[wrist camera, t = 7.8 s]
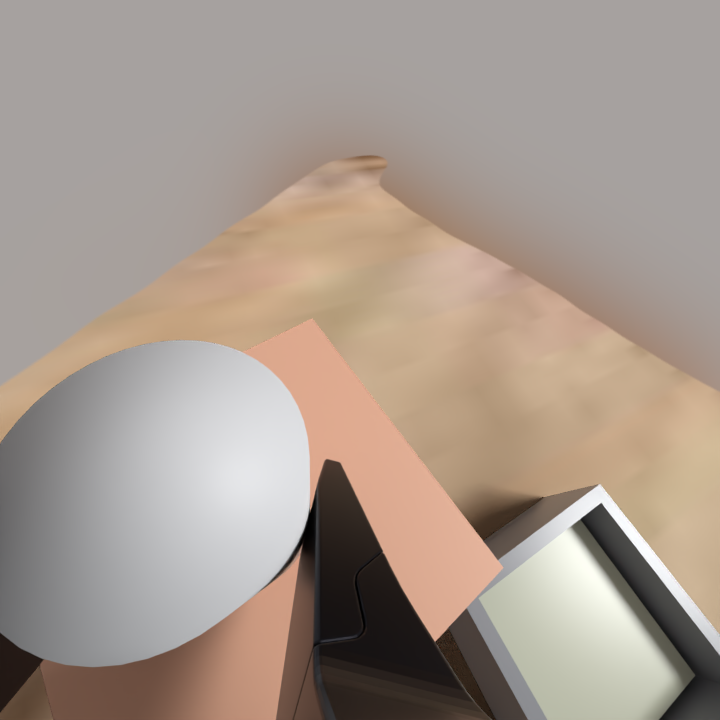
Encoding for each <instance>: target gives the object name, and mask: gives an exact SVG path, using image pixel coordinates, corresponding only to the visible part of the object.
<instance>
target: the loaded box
mask: <svg viewBox="0 0 720 720" xmlns="http://www.w3.org/2000/svg"><path fill="white" fill-rule="evenodd" d="M483 542H484V543H485V544H486V546H487V547H488V548H489V549H490V551H491V552H492V553H493V555H494V556H495V557H496V559H497V560H498V561H499V562H500V564H501V565H502V566H503V569H502V570H501V571H500V572H499V573H498V574H497V575H496V577H495V578H494V579H493V580H492V581H491V582H490V583H489V584H488V585H487V586H486V587H485V588H484V590H483V591H482V592H481V593H480V594H479V595H478V596H477V597H476V598H475V599H474V600H473V601H472V603H471V604H470V605H469V606H468V607H467V608H466V609H465V610H464V611H463V612H462V613H461V614H460V615H459V617H458V618H457V619H456V620H455V621H454V622H453V623H452V624H451V625H450V626H449V627H448V628H449V630H450V632H451V634H452V636H453V638H454V640H455V642H456V644H457V645H458V647H459V649H460V651H461V653H462V655H463V657H464V659H465V661H466V663H467V665H468V667H469V669H470V671H471V673H472V674H473V676H474V678H475V680H476V682H477V684H478V686H479V688H480V690H481V692H482V694H483V696H484V698H485V700H486V701H487V703H488V705H489V707H490V709H491V711H492V713H493V715H494V717H495V719H496V720H720V635H719V634H718V632H717V631H716V630H715V628H714V627H713V626H712V625H711V623H710V622H709V621H708V620H707V618H706V617H705V616H704V615H703V613H702V612H701V611H700V610H699V608H698V607H697V606H696V605H695V603H694V602H693V601H692V599H691V598H690V597H689V596H688V594H687V593H686V592H685V591H684V589H683V588H682V587H681V586H680V584H679V583H678V582H677V581H676V579H675V578H674V577H673V576H672V574H671V573H670V572H669V571H668V569H667V568H666V567H665V565H664V564H663V563H662V562H661V560H660V559H659V558H658V557H657V555H656V554H655V553H654V552H653V550H652V549H651V548H650V547H649V545H648V544H647V543H646V542H645V540H644V539H643V538H642V536H641V535H640V534H639V533H638V531H637V530H636V529H635V528H634V526H633V525H632V524H631V523H630V521H629V520H628V519H627V518H626V516H625V515H624V514H623V513H622V511H621V510H620V509H619V507H618V506H617V505H616V504H615V502H614V501H613V500H612V499H611V497H610V496H609V495H608V494H607V492H606V491H605V490H604V489H603V487H602V486H601V485H600V484H598V485H594V486H589V487H585V488H581V489H577V490H573V491H568V492H564V493H560V494H556V495H551V496H547V497H544V498H543V499H542V500H540V501H539V502H537V503H536V504H535V505H533V506H532V507H530V508H529V509H527V510H526V511H525V512H523V513H522V514H520V515H519V516H518V517H516V518H515V519H513V520H512V521H510V522H509V523H508V524H506V525H505V526H503V527H502V528H501V529H499V530H498V531H496V532H495V533H494V534H492V535H491V536H489V537H488V538H486V539H485V540H484V541H483Z"/></svg>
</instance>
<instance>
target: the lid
mask: <svg viewBox="0 0 720 720" xmlns="http://www.w3.org/2000/svg"><path fill="white" fill-rule="evenodd" d="M326 459H330V460H334V461H338V462H340V463H341V464H342V467H343V469H344V471H345V473H346V475H347V477H348V479H349V481H350V483H351V485H352V487H353V489H354V491H355V494H356V496H357V498H358V500H359V502H360V504H361V506H362V508H363V510H364V512H365V514H366V516H367V518H368V521H369V523H370V525H371V527H372V529H373V531H374V533H375V535H376V537H377V539H378V541H379V543H380V545H381V548H382V550H383V553H384V554H385V556H386V558H387V560H388V562H389V564H390V566H391V568H392V570H393V572H394V574H395V576H396V578H397V579H398V581H399V583H400V585H401V587H402V589H403V591H404V592H405V594H406V596H407V597H408V599H409V601H410V602H411V604H412V606H413V607H414V609H415V611H416V612H417V614H418V616H419V617H420V619H421V620H422V622H423V624H424V625H425V627H426V628H427V630H428V631H429V633H430V635H431V636H432V638H433V639H434V641H436V640H437V639H438V638H439V637H440V636H441V635H442V634H443V633H444V632H445V631H446V630H447V628H448V627H449V626H450V625H451V624H452V623H453V622H454V621H455V620H456V619H457V618H458V617H459V615H460V614H461V613H462V612H463V611H464V610H465V609H466V608H467V607H468V606H469V605H470V604H471V603H472V601H473V600H474V599H475V598H476V597H477V596H478V595H479V594H480V593H481V592H482V591H483V590H484V588H485V587H486V586H487V585H488V584H489V583H490V582H491V581H492V580H493V579H494V578H495V577H496V575H497V574H498V573H499V572H500V571H501V570H502V569H503V566H502V565H501V564H500V562H499V561H498V560H497V559H496V557H495V556H494V555H493V553H492V552H491V551H490V549H489V548H488V547H487V546H486V544H485V543H484V542H483V540H482V539H481V538H480V536H479V535H478V534H477V532H476V531H475V530H474V529H473V527H472V526H471V525H470V523H469V522H468V521H467V519H466V518H465V517H464V516H463V514H462V513H461V512H460V510H459V509H458V508H457V506H456V505H455V504H454V502H453V501H452V500H451V499H450V497H449V496H448V495H447V493H446V492H445V491H444V489H443V488H442V487H441V486H440V484H439V483H438V482H437V480H436V479H435V478H434V476H433V475H432V474H431V473H430V471H429V470H428V469H427V467H426V466H425V465H424V463H423V462H422V461H421V459H420V458H419V457H418V456H417V454H416V453H415V452H414V450H413V449H412V448H411V446H410V445H409V444H408V443H407V441H406V440H405V439H404V437H403V436H402V435H401V433H400V432H399V431H398V429H397V428H396V427H395V426H394V424H393V423H392V422H391V420H390V419H389V418H388V416H387V415H386V414H385V413H384V411H383V410H382V409H381V407H380V406H379V405H378V403H377V402H376V401H375V400H374V398H373V397H372V396H371V394H370V393H369V392H368V390H367V389H366V388H365V386H364V385H363V384H362V383H361V381H360V380H359V379H358V377H357V376H356V375H355V373H354V372H353V371H352V370H351V368H350V367H349V366H348V364H347V363H346V362H345V360H344V359H343V358H342V356H341V355H340V354H339V353H338V351H337V350H336V349H335V347H334V346H333V345H332V343H331V342H330V341H329V340H328V338H327V337H326V336H325V334H324V333H323V332H322V330H321V329H320V328H319V327H318V325H317V324H316V323H315V321H314V320H313V319H310V320H308V321H306V322H304V323H302V324H300V325H297V326H295V327H293V328H291V329H289V330H287V331H285V332H283V333H281V334H279V335H277V336H275V337H273V338H270V339H268V340H266V341H264V342H262V343H260V344H258V345H256V346H254V347H252V348H250V349H248V350H246V351H243V352H240V351H238V350H235V349H233V348H230V347H227V346H223V345H219V344H215V343H210V342H203V341H192V340H174V341H161V342H155V343H149V344H143V345H140V346H136V347H132V348H128V349H125V350H122V351H119V352H117V353H114V354H111V355H109V356H106V357H104V358H102V359H100V360H98V361H95V362H93V363H91V364H89V365H87V366H86V367H84V368H82V369H80V370H79V371H77V372H75V373H74V374H72V375H70V376H69V377H67V378H66V379H64V380H63V381H62V382H60V383H59V384H57V385H56V386H55V387H53V388H52V389H51V390H49V391H48V392H47V393H46V394H45V395H44V396H42V397H41V398H40V399H39V400H38V401H37V402H35V403H34V404H33V405H32V406H31V407H30V409H29V410H28V411H27V412H26V413H25V414H24V415H23V416H22V417H21V418H20V419H19V420H18V421H17V422H16V424H15V425H14V426H13V427H12V429H11V430H10V431H9V432H8V434H7V435H6V436H5V437H4V439H3V440H2V442H1V443H0V633H1V634H2V635H4V636H5V637H6V638H8V639H9V640H10V641H11V642H13V643H14V644H15V645H17V646H18V647H19V648H21V649H23V650H25V651H27V652H29V653H31V654H33V655H35V656H38V657H40V658H42V659H44V660H43V661H42V662H41V664H40V668H41V672H42V676H43V680H44V684H45V688H46V692H47V696H48V700H49V704H50V708H51V712H52V716H53V720H276V715H277V708H278V702H279V695H280V688H281V681H282V675H283V668H284V661H285V654H286V648H287V641H288V634H289V627H290V620H291V614H292V607H293V600H294V593H295V587H296V580H297V573H298V566H299V560H300V554H301V549H302V545H303V541H304V538H305V534H306V530H307V526H308V522H309V516H310V511H311V507H312V503H313V499H314V495H315V491H316V486H317V482H318V479H319V476H320V473H321V470H322V466H323V463H324V461H325V460H326Z"/></svg>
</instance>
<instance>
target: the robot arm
mask: <svg viewBox="0 0 720 720" xmlns="http://www.w3.org/2000/svg"><path fill="white" fill-rule="evenodd" d="M43 660H44V659H42V658H40V657H38V656H35V655H33V654H31V653H29V652H27V651H25V650H23V649H21V648H19V647H18V646H17V645H15V644H14V643H13V642H11V641H10V640H9V639H8V638H6V637H5V636H4V635H2V634H1V633H0V712H1V711H2V710H3V708H4V707H5V706H6V705H7V704H8V702H9V701H10V700H11V699H12V698H13V696H14V695H15V694H16V693H17V691H18V690H19V689H20V688H21V687H22V685H23V684H24V683H25V682H26V681H27V679H28V678H29V677H30V676H31V675H32V673H33V672H34V671H35V670H36V669H37V667H38V666H39V665H40V664H41V662H42V661H43ZM276 720H492V719H491V718H490V717H489V716H488V715H486V714H485V712H484V711H483V710H482V709H481V708H480V707H479V706H478V705H477V704H476V703H475V701H474V700H473V699H472V697H471V696H470V695H469V694H468V692H467V691H466V689H465V688H464V686H463V685H462V684H461V682H460V681H459V679H458V678H457V676H456V674H455V673H454V671H453V670H452V668H451V666H450V665H449V663H448V662H447V660H446V658H445V657H444V655H443V654H442V652H441V651H440V649H439V647H438V646H437V644H436V643H435V641H434V639H433V638H432V636H431V635H430V633H429V631H428V630H427V628H426V627H425V625H424V624H423V622H422V620H421V619H420V617H419V616H418V614H417V612H416V611H415V609H414V607H413V606H412V604H411V602H410V601H409V599H408V597H407V596H406V594H405V592H404V591H403V589H402V587H401V585H400V583H399V581H398V579H397V578H396V576H395V574H394V572H393V570H392V568H391V566H390V564H389V562H388V560H387V558H386V556H385V554H384V553H383V550H382V548H381V545H380V543H379V541H378V539H377V537H376V535H375V533H374V531H373V529H372V527H371V525H370V523H369V521H368V518H367V516H366V514H365V512H364V510H363V508H362V506H361V504H360V502H359V500H358V498H357V496H356V494H355V491H354V489H353V487H352V485H351V483H350V481H349V479H348V477H347V475H346V473H345V471H344V469H343V467H342V464H341V463H340V462H338V461H334V460H330V459H326V460H325V461H324V463H323V466H322V470H321V473H320V476H319V479H318V482H317V486H316V491H315V495H314V499H313V503H312V507H311V511H310V516H309V522H308V526H307V530H306V534H305V538H304V541H303V545H302V549H301V554H300V560H299V566H298V573H297V580H296V587H295V593H294V600H293V607H292V614H291V620H290V627H289V634H288V641H287V648H286V654H285V661H284V668H283V675H282V681H281V688H280V695H279V702H278V708H277V715H276Z"/></svg>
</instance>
